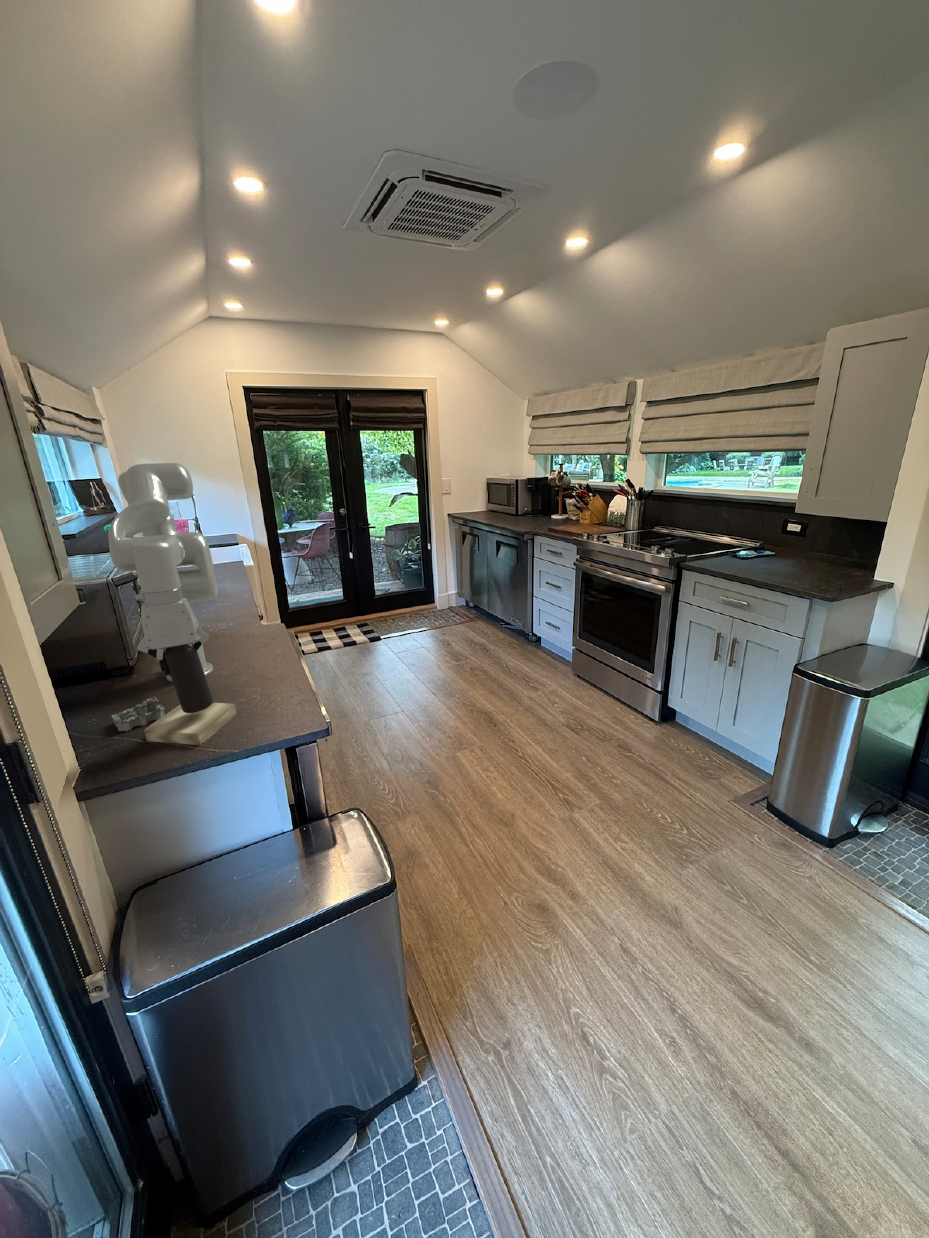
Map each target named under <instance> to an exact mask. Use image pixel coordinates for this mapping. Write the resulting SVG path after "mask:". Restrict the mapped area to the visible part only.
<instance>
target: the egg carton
mask: <svg viewBox="0 0 929 1238" xmlns="http://www.w3.org/2000/svg"><path fill="white" fill-rule="evenodd" d="M165 709H166V708H165V707H164V705H163V704H162V703H161V702H160V701H159V699H158V698H157V696H153V697H149V698H147V699H145V700H143V701H142V703H139V704H136V705H135V706H134V707H132V708H127V709H125V710H124V711H122V712H119V713H115V714H112V715H110V716H111V718H112V720H113V722H114V726H115V727H117V730H118V731H119V732H123V731H124V732H128V730H129V731H132V729H133V728H134V726H135V727H137V726H146V725H147V724H148V723H149V722H151V721H157V720H159V719H160V718H162V717H163V716H165V715H166V713H165V712H166V711H165Z"/></svg>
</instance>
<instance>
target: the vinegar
mask: <svg viewBox="0 0 929 1238" xmlns="http://www.w3.org/2000/svg"><path fill="white" fill-rule="evenodd" d="M192 645H193V644H192ZM163 656H164V659H165V661H166V664H167V667H168V670H169V673H170V676H171V679H172V682H171V683H172V685H173V688H174V690H175V693H176V696H177V698H178V701H179V705H181V708H182V710H183V712H185V713H195V712H199V711H202V710H204V709H206V708H208V707H209V706H211V704H212V703H214V698H213V696H212V693H211V690H210V685H209V684H208V680H207V676H205V674H204V671H203V668H202V665H201V661H200V658H199V655H198V652H197V651H196V649H195V647H194V645H193V647H191V646H189V645H181V646H175V647H169V648H165V649H164V653H163Z"/></svg>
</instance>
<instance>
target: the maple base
mask: <svg viewBox="0 0 929 1238" xmlns="http://www.w3.org/2000/svg"><path fill="white" fill-rule="evenodd" d="M236 715H238V713H237V708H236V704H235V703H226V702H225V703H224V702H213V703H212V704H211V706H209V707H208V708H206V709H204V710H202V711H199V712H195V713H185V712H183V710H182V708H181V705H180V704H179V705H177V706H176V707H175V708H173V709H172V710H170V711H169V712H168V713H165V716H163V717H162V718H160V719H159V720H155V722H153V723H152V724H150V725H149V726H147V727H146V728H145V729H144V730H143V732H144V735H145V739H146V742H155V743H156V742H157V743H167V744H179V745H193V746H202V745H203V744H204V743H206V741H208V740H209V739H210V738H211V737H213V735H215V734H216V733H217V732H218V731H220V730H221V729H222V728H223V727H224V726H225V725H226V724H228V723H229V722H230V721H231V720H232V719H233V718H234V717H236ZM222 726H223V727H222ZM207 739H208V740H207ZM202 743H203V744H202Z"/></svg>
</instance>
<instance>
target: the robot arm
mask: <svg viewBox="0 0 929 1238" xmlns="http://www.w3.org/2000/svg"><path fill="white" fill-rule="evenodd" d="M117 479H118V482H117V483H118V486H119V489H120V491H121V494H122V496H123V497H124V499H125V501H126V503H127V505H128V506H126V507H125V508H124V509H122V510H121V511H120V512H119V513H118V514H117V515H116V516H115V517H114V519H113V520H112V521H111V523H110V525H109V528H108V549H109V555H110V559H111V562H112V564H113V565H114V567H115V568H116V569H118V570H119V571H121V572H126V573H127V572H136V573H137V577H138V582H139V586H140V590H141V592H140V593H138V594H134V598H135V601H136V602H137V601H138V602H139V601H140V602H143V604H142V605H141V607H140V611H141V612H140V613H141V615H140V616H141V622H142V629H143V637H142V639H141V641H140V642H139V643H138V646H137V651H139V652H142V653H146V654H148V655H149V656H151V657H152V658H155V659H156V660H158V662H159V667H160V669H161V672H162V673H163V672H164V673H165V677H166V679H167V681H169V682H171V683H173V682H172V679H171V676H170V673H169V670H168V667H167V664H166V661H165V659H164V656H163V653H164V651H165V649H166V648H169V647H175V646H181V645H189V646H191V647H193V645H194V647H195V649H196V651H197V652H198V655H199V658H200V661H201V665H202V668H203V671H204V674H205V677H207V676H209V675H210V674H212V672H213V671H214V666H213V664H212V663H210V662H207V661H206V655H205V651H204V646H203V644H205V643H206V642H207V641H208V640H209V638H210V635H209V634H208V633H206V632H205V631H204V630H203V629H201V628H200V627H199V621H198V619H197V616H196V614H195V613H194V611H193V610H192V607H191V605H190V604H193V603H199V602H206V601H207V602H208V601H210V600H214V599H216V598H217V596H218V593H219V589H218V588H219V587H218V581H217V577H216V573H215V568H214V562H213V559H212V558H213V557H212V553H211V549H210V546H209V543H208V540H207V538H206V537H205V535H204V534H203V533H200V532H198V531H197V532H196V531H195V532H194V531H192V532H191V531H190V532H189V531H188V532H178V530H177V526H176V521H175V517H174V516H173V514H171V513H170V511H171V510H170V504H169V501H176V500H177V501H178V500H188V499H190V498H191V497H192V496H193V493H194V485H193V479H192V476H191V473H190V471H189V469H187V467H186V466H185V465H183V464H182V463H178V462H161V463H160V462H159V463H156V462H155V463H154V462H153V463H151V462H150V463H139V464H135V465H132V466H130V467H128V469H127V470H126V471H124V472H122V473H120V474H119V476H118V478H117ZM140 533H141V535H142V536H135V535H137V534H140ZM188 566H194V567H195V568H194V569H188V570H187V569H186V570H178V568H180V567H188ZM192 644H193V645H192Z"/></svg>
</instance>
